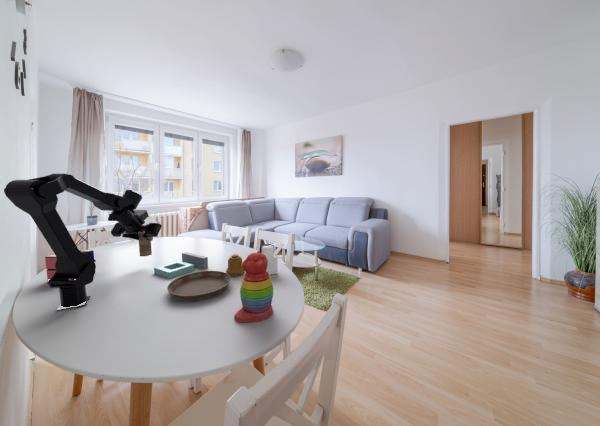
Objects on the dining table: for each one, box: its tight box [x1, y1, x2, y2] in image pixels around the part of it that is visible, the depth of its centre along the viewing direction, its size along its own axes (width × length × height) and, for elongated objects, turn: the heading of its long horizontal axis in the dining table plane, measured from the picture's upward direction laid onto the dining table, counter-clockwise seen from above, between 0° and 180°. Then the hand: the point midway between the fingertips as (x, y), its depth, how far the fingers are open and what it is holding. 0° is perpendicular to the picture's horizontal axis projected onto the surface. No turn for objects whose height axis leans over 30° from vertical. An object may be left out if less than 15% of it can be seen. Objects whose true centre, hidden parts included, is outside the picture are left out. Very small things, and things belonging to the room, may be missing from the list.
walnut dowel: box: [138, 232, 153, 257], centre depth 102 cm, size 4×4×11 cm
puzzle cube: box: [44, 249, 95, 280], centre depth 92 cm, size 10×10×10 cm
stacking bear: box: [234, 250, 274, 323], centre depth 65 cm, size 11×10×18 cm
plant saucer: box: [166, 270, 232, 301], centre depth 81 cm, size 21×21×3 cm
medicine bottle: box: [259, 243, 278, 276], centre depth 98 cm, size 7×7×12 cm
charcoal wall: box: [181, 251, 209, 270], centre depth 106 cm, size 2×16×5 cm, turn 60°
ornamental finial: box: [225, 253, 245, 277], centre depth 97 cm, size 8×8×8 cm
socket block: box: [153, 260, 195, 280], centre depth 98 cm, size 11×11×2 cm
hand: (146, 239), depth 104 cm, fingers closed on walnut dowel, 4 cm apart
